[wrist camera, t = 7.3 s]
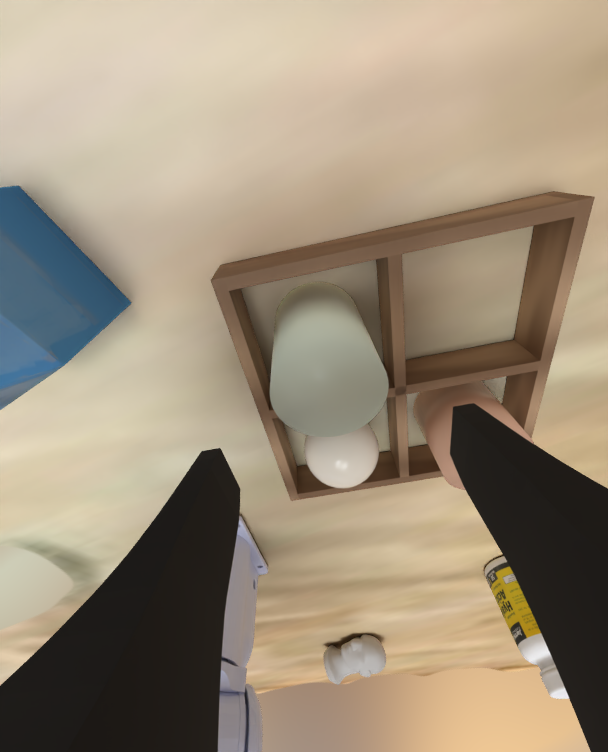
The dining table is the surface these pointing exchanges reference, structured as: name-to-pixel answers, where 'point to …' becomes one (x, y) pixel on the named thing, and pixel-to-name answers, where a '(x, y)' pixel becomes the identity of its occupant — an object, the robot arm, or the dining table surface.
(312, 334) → the sage green cylinder
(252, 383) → the wooden compartment tray
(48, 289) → the perfume bottle
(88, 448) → the dining table surface
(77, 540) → the dining table surface
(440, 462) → the pink rounded cylinder
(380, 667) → the smooth white sculpture
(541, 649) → the supplement bottle
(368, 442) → the egg
